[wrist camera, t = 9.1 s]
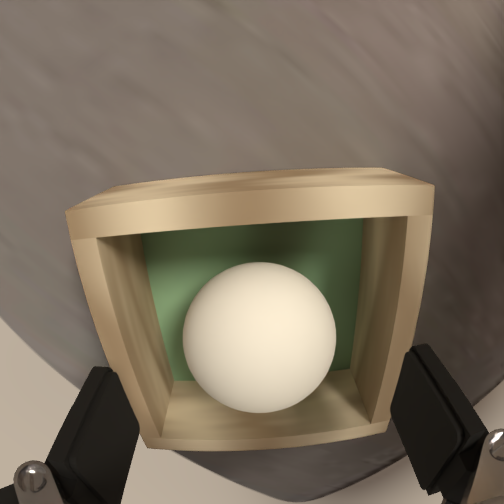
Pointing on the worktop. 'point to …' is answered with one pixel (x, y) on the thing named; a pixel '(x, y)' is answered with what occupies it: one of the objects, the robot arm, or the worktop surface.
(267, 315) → the ball
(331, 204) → the wooden square tray
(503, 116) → the worktop surface
